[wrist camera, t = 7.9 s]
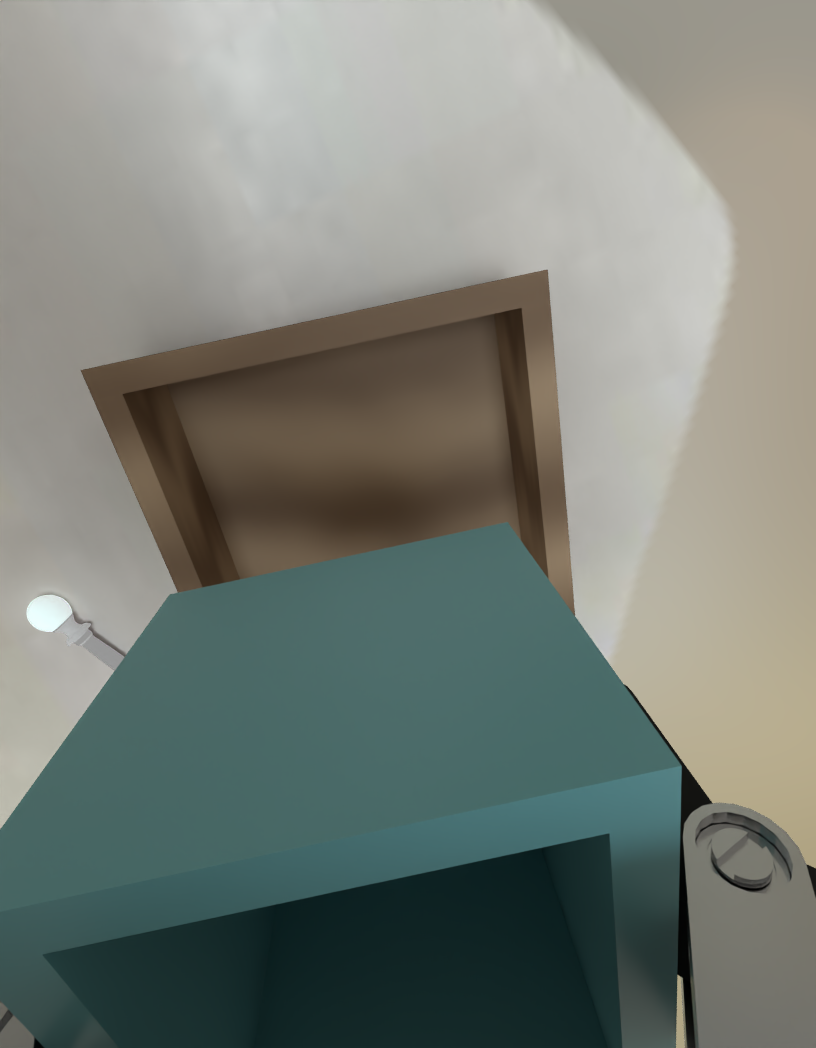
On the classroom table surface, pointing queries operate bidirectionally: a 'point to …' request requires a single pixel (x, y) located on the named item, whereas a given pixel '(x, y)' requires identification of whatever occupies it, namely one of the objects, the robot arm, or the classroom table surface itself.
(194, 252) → the classroom table surface
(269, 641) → the small crate
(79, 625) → the magic wand
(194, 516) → the big crate
